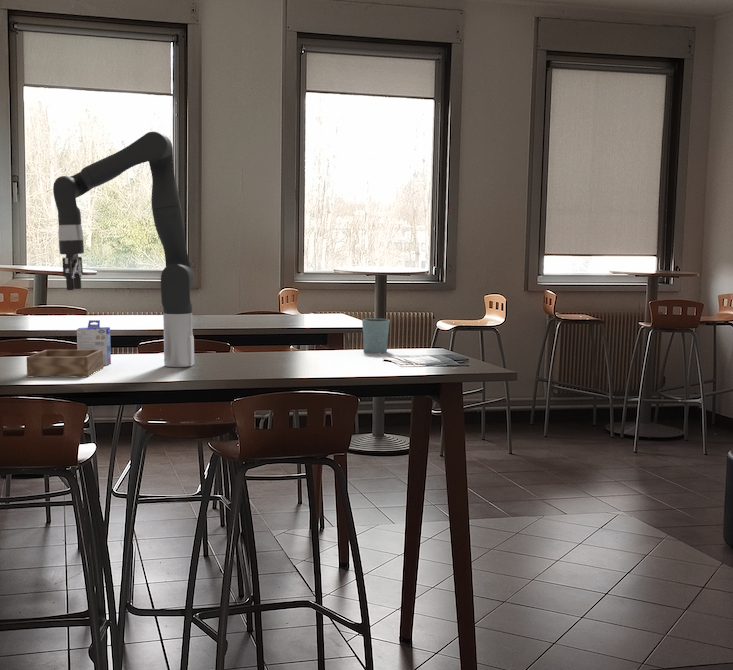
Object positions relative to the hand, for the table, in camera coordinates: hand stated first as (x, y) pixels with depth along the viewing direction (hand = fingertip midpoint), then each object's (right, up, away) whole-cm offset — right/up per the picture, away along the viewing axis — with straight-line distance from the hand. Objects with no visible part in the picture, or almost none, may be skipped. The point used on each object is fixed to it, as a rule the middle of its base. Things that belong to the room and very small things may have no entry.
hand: (74, 289), depth 296 cm
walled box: (+2, -26, -14) cm, 30 cm away
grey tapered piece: (+98, -21, +39) cm, 108 cm away
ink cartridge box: (+5, -25, +4) cm, 26 cm away
